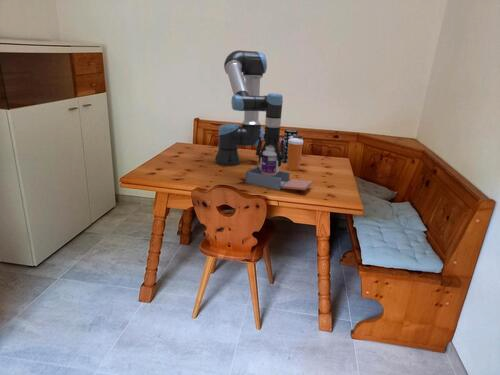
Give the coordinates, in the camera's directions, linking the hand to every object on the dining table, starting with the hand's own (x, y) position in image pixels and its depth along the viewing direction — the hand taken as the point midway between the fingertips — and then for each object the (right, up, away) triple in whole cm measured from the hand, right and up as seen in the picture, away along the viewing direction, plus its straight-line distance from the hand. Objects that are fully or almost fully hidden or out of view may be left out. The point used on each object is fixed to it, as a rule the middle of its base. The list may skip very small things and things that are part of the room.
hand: (269, 170), depth 178 cm
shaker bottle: (+16, +3, +31) cm, 35 cm away
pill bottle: (0, -2, +1) cm, 2 cm away
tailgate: (+8, -6, -2) cm, 11 cm away
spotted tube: (+15, +8, +46) cm, 49 cm away
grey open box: (-1, -6, +3) cm, 7 cm away
